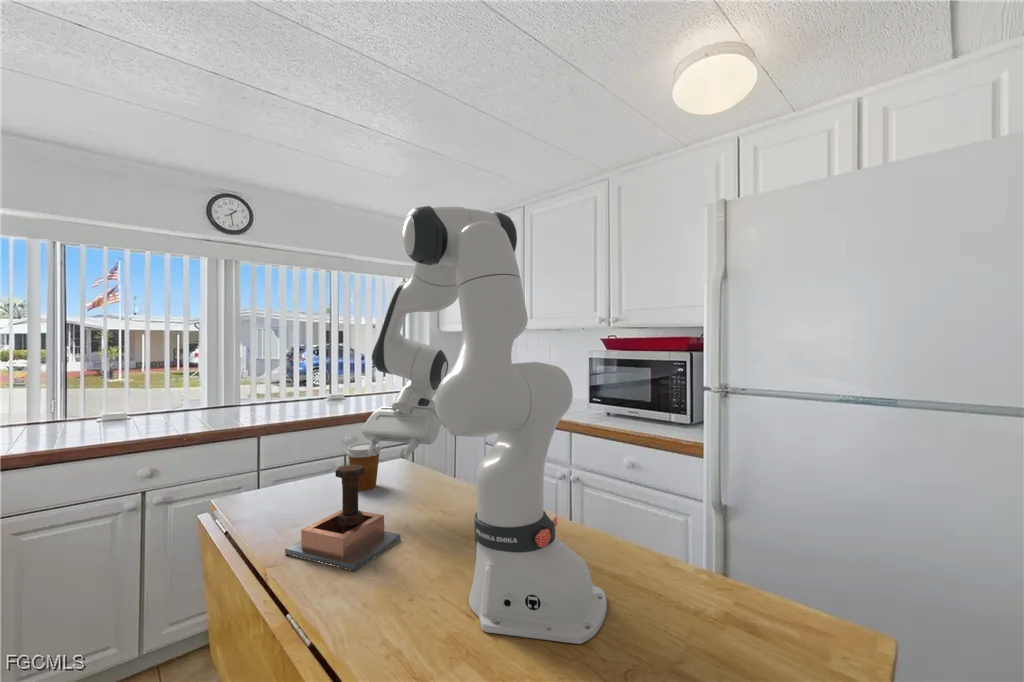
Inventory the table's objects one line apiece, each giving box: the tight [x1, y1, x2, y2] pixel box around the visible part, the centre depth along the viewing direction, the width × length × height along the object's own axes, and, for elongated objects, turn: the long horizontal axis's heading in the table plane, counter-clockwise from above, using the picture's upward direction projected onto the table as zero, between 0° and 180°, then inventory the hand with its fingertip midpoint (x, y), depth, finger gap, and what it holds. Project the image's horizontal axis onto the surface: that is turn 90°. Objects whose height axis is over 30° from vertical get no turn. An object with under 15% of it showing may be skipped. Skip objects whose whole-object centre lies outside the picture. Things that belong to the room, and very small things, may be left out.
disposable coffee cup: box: [346, 442, 382, 492], centre depth 132 cm, size 10×10×12 cm
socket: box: [284, 509, 402, 571], centre depth 95 cm, size 18×14×5 cm
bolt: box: [335, 464, 365, 534], centre depth 96 cm, size 6×5×15 cm
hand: (386, 455), depth 107 cm, fingers open, 8 cm apart
